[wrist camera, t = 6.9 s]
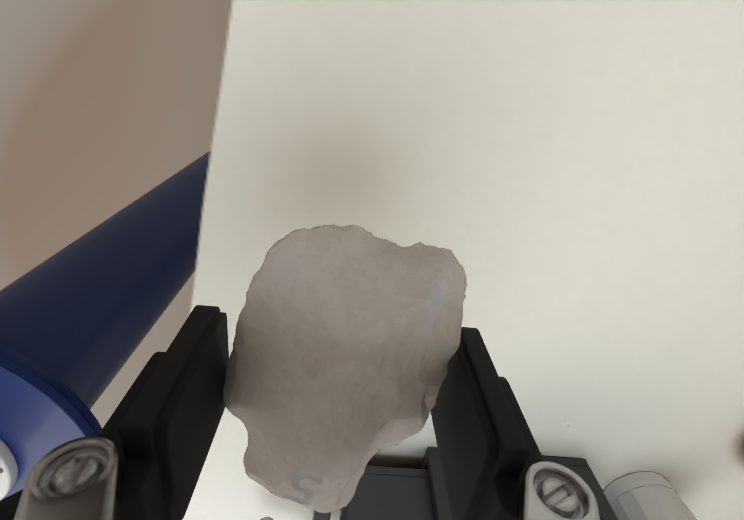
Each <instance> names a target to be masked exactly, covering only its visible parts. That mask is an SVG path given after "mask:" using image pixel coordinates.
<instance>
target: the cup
mask: <svg viewBox="0 0 744 520" xmlns="http://www.w3.org/2000/svg"><path fill="white" fill-rule="evenodd" d="M603 492H604V494H605V496H606V498H607V500H608V502H609V504H610V505H611V507H612V509H613V511H614V513H615V515H616V516H617V518H618V520H697V519H696V517H695V516H694V515H693V514H692V512H691V511H690V510H689V509H688V507H687V506H686V505H685V504H684V502H683V501H682V500H681V499H680V497H679V496H678V495H677V493H676V492H675V490H674V489H673V487H672V486H671V484H670V483H669V482H668V480H667V479H666V478H665V477H664V476H663V475H661V474H658V473H654V472H637V473H632V474H628V475H625V476H623V477H621V478H619V479H617V480H615V481H613V482H612V483H611V484H609V485H608V486H607V487H606V489H605V490H604V491H603Z"/></svg>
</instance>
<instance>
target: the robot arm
mask: <svg viewBox="0 0 744 520" xmlns="http://www.w3.org/2000/svg"><path fill="white" fill-rule="evenodd" d="M228 360H229V351H228V330H227V315H226V313H222V312H220V309H219V307H215V306H202V305H197V306H195V308H194V309H193V311H192V312H191V314H190V315H189V317H188V318H187V320H186V321H185V323H184V325H183V326H182V328H181V329H180V331H179V332H178V334H177V336H176V337H175V339H174V340H173V342H172V343H171V345H170V347H169V348H168V350H167V351H166V352H156V353H154V355H153V356H152V357H151V358H150V360H149V361H148V362H147V364H146V365H145V367H144V369H143V370H142V371H141V373H140V374H139V376H138V377H137V379H136V380H135V382H134V383H133V385H132V386H131V388H130V389H129V391H128V392H127V393H126V395H125V397H124V398H123V399H122V401H121V402H120V404H119V405H118V407H117V408H116V410H115V412H114V413H113V414H112V416H111V417H110V419H109V420H108V422H107V423H106V425H105V426H104V427H103V429H102V430H101V432H100V433H99V435H98V436H89V437H80V438H77V439H74V440H71V441H68V442H66V443H64V444H62V445H60V446H58V447H56V448H54V449H52V450H51V451H50V452H49V453H47V454H46V455H45V456H43V457H42V458H41V459H40V460H39V461H38V462H37V463H36V465H35V466H34V467H33V468H32V470H31V472H30V473H29V475H28V477H27V479H26V482H25V486H24V489H22V490H20V491H18V492H16V493H14V494H12V495H10V496H8V497H6V498H4V497H5V496H6V495H7V493H8V492H9V491H10V490H11V488H12V487H13V486H14V484H15V483H16V480H17V477H18V466H17V463H16V460H15V457H14V455H13V454H12V452H11V450H10V449H9V447H8V446H7V445H6V444H5V443H4V442H3V441H2V440H1V439H0V520H182V519H183V518H184V515H185V513H186V510H187V508H188V505H189V502H190V500H191V497H192V494H193V492H194V489H195V486H196V484H197V481H198V478H199V476H200V473H201V470H202V468H203V465H204V462H205V460H206V457H207V454H208V452H209V449H210V446H211V444H212V441H213V438H214V436H215V433H216V430H217V428H218V425H219V422H220V420H221V417H222V414H223V411H224V409H225V404H224V397H223V388H224V385H225V380H226V371H227V363H228ZM447 371H448V373H447V376H446V378H445V379H444V381H443V382H442V384H441V386H440V389H439V393H438V396H437V398H436V404H435V406H434V407H433V408H432V410H431V415H432V420H433V425H434V430H435V435H436V440H437V445H438V450H439V455H440V460H441V465H442V470H443V475H444V480H445V485H446V490H447V495H448V500H449V505H450V510H451V515H452V520H604V519H603V518H602V517H600V516H599V510H598V505H597V502H596V499H595V496H594V494H593V492H592V491H591V489H590V488H589V486H588V485H587V484H586V483H585V482H584V481H583V480H582V478H581V477H580V476H578V475H577V474H576V473H574V472H573V471H572V470H570V469H568V468H566V467H564V466H562V465H560V464H557V463H553V462H549V461H546V462H544V460H543V458H542V456H541V453H540V451H539V449H538V447H537V445H536V442H535V440H534V438H533V436H532V434H531V431H530V429H529V427H528V425H527V422H526V420H525V418H524V416H523V414H522V411H521V409H520V407H519V405H518V403H517V400H516V398H515V396H514V394H513V392H512V389H511V387H510V385H509V383H508V381H507V380H506V379H505V378H504V377H498V374H497V372H496V370H495V367H494V365H493V363H492V360H491V358H490V356H489V353H488V351H487V349H486V346H485V344H484V342H483V339H482V337H481V335H480V332H479V330H478V329H477V328H468V327H461V336H460V345H459V348H458V349H457V351H456V353H455V354H454V355H453V356H452V357H451V358H450V360H449V362H448V365H447ZM3 498H4V499H3ZM1 499H2V500H1Z"/></svg>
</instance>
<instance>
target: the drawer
mask: <svg viewBox="0 0 744 520" xmlns="http://www.w3.org/2000/svg"><path fill="white" fill-rule="evenodd" d="M330 514H331V512H329V513H320V512H317V511H315V510H314V514H313V520H330ZM261 520H273V519H272V518H270V517H264V518H262V519H261ZM340 520H436V516H435V510H434V503H433V497H432V490H431V484H430V478H429V471H428V470H426V469H411V468H397V467H383V466H368V465H366V467H365V470H364V474H363V475H362V477H361V478H360V480H359V482H358V484H357V487H356V490H355V493H354V496H353V498H352V499H351V500H350V502H349V503H348V505H347V506H345V507H343V508H342V510H341V516H340Z"/></svg>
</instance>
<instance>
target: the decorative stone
mask: <svg viewBox="0 0 744 520" xmlns="http://www.w3.org/2000/svg"><path fill="white" fill-rule="evenodd" d="M466 286H467V284H466V274H465V271H464V269H463V267H462V265H460V264H459V262H458V261H457V259H456V257H455V256H454V255H453V253H452V251H451V250H449V249H445V248H438V247H435V246H425V245H424V244H422V243H420V242H419V243H416V244H414V245H412V246H409V247H405V248H404V247H400V246H398V245H397V244H395V243H393V242H390V241H388V240H385V239H381V238H378V237H375V236H374V235H373V234H372V233H370V232H368V231H366V230H365V229H364V228H362V227H359V226H356V225H349V226H345V227H339V226H336V225H323V226H317V227H314V228H311V229H305V228H303V229H299V230H295V231H293V232H291V233H290V234H288V235H287V236H285V237H284V238H282V239H281V240H279V241H277V242H276V243H275V244H274V245H273V246H272V247H271V248H270V249H269V251H268V252H267V254H266V257H265V260H264V263H263V265H262V267H261V268H260V269H259V271H258V272H256V273H255V274H254V276H253V279H252V281H251V284H250V286H249V289H248V291H247V293H246V304H245V306H244V308H243V309H242V311H241V313H240V315H239V319H238V322H237V326H236V335H235V338H234V342H233V350H232V352H231V355H230V358H229V360H228V363H227V371H226V380H225V385H224V388H223V397H224V404H225V406H226V408H227V409H228V410H229V411H230V412H231V413H232V414H233V415H234V416H236V417H237V418H239V419H240V420H241V421H242V422H243V423H244V424H245V426H246V429H247V431H248V447H247V450H246V452H245V454H244V466H245V471H246V474H247V475H248V477H249V478H251V479H253V480H255V481H256V482H258V483H259V484H260V485H262V486H264V487H265V488H267V489H268V490H269V491H270V492H271V493H273V494H275V495H276V496H279V497H282V498H286V499H290V500H293V501H295V502H298V503H300V504H303V505H304V506H306V507H308V508H310V509H313V510H315V511H317V512H320V513H329V512H334V511H335V510H337V509H340V508H343V507H345V506H347V505H348V503H349V502H350V500H351V499H352V498H353V496H354V493H355V490H356V487H357V484H358V482H359V480H360V478H361V477H362V475H363V474H364V470H365V467H366V465H367V463H368V461H369V460H370V459H371V458H372V456H373V455H375V454H376V453H377V452H378V451H380V450H381V449H383V448H386V447H390V446H393V445H397V444H398V443H400V442H401V441H403V440H404V439H406V438H408V437H410V436H412V435H414V434H416V433H418V432H419V431H420V430H421V429H422V428H423V426H424V424H425V422H426V420H427V418H428V415H429V412H430V411H431V410H432V408H433V407H434V406H435V404H436V398H437V396H438V393H439V389H440V386H441V384H442V382H443V381H444V379H445V378H446V376H447V373H448V371H447V365H448V362H449V360H450V358H451V357H452V356H453V355H454V354H455V353H456V351H457V349H458V348H459V345H460V336H461V325H462V317H463V301H464V298H465V297H466V296H465V290H466Z"/></svg>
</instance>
